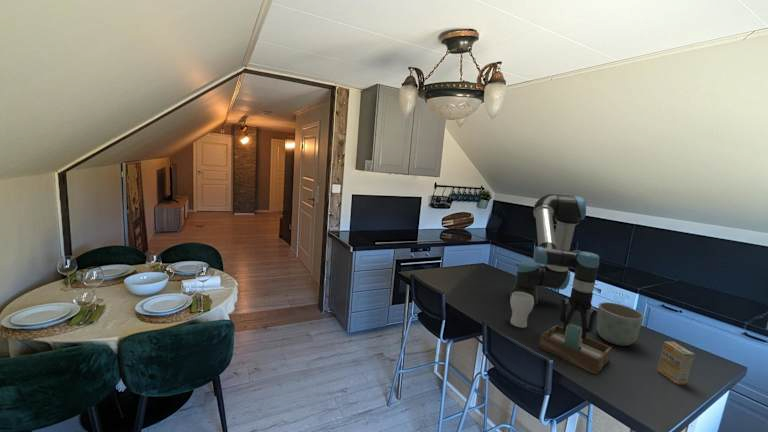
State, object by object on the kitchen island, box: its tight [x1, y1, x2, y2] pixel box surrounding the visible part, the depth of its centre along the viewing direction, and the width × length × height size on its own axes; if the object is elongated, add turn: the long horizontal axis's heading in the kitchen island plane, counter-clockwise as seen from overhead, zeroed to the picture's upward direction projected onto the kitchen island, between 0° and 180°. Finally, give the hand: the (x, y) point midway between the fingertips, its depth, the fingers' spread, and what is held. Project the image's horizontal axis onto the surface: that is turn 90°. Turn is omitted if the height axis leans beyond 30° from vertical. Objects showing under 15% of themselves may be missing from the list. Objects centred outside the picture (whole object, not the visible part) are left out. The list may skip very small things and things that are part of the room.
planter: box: [596, 301, 645, 347], centre depth 151 cm, size 17×17×15 cm
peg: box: [565, 323, 582, 350], centre depth 137 cm, size 4×4×12 cm
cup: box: [509, 292, 535, 329], centre depth 160 cm, size 11×11×15 cm
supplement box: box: [656, 341, 695, 385], centre depth 125 cm, size 8×5×13 cm, turn 5°
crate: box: [538, 324, 613, 375], centre depth 138 cm, size 16×22×6 cm
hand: (572, 341), depth 138 cm, fingers open, 4 cm apart
